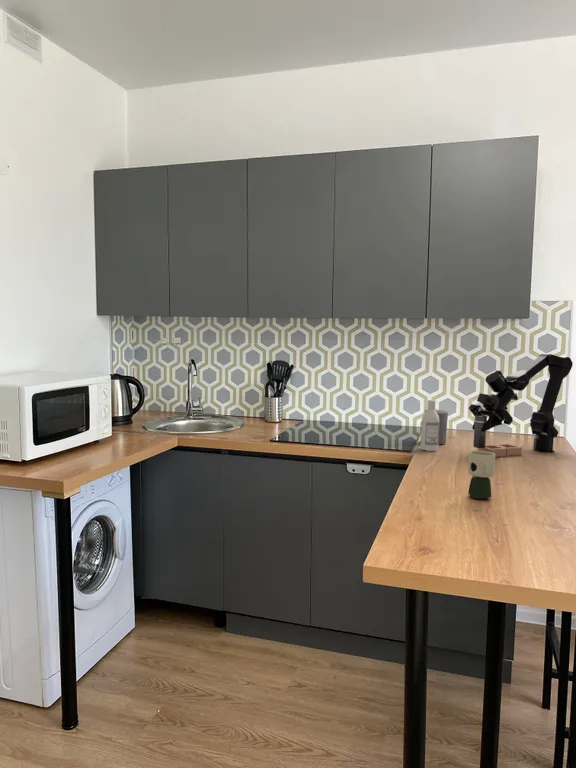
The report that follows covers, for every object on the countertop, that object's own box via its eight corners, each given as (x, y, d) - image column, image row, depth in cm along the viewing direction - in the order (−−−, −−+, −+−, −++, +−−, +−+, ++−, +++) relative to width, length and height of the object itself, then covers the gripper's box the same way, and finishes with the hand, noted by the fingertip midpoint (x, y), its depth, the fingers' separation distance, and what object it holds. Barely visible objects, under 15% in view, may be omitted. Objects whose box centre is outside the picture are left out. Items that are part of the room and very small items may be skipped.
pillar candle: (418, 442, 253) (420, 407, 252) (430, 439, 260) (432, 405, 259) (438, 446, 246) (440, 410, 245) (450, 443, 253) (452, 408, 252)
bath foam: (441, 451, 236) (444, 400, 234) (428, 452, 233) (431, 401, 231) (429, 447, 242) (432, 398, 240) (416, 449, 239) (418, 399, 237)
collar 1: (492, 452, 236) (492, 444, 236) (506, 456, 230) (506, 448, 229) (477, 453, 233) (478, 445, 233) (491, 457, 227) (491, 449, 226)
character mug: (461, 492, 175) (463, 448, 174) (485, 492, 175) (487, 449, 174) (473, 503, 164) (476, 456, 163) (498, 503, 164) (501, 457, 163)
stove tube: (479, 445, 231) (481, 415, 230) (487, 447, 227) (489, 416, 226) (470, 446, 230) (472, 415, 228) (478, 448, 226) (480, 417, 224)
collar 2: (507, 451, 240) (507, 443, 240) (521, 454, 233) (521, 447, 233) (493, 452, 237) (493, 444, 236) (507, 455, 230) (507, 448, 230)
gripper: (473, 383, 236) (450, 412, 233) (508, 388, 219) (484, 419, 216) (487, 403, 240) (464, 431, 237) (523, 409, 224) (499, 439, 220)
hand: (477, 430), depth 227 cm, fingers closed on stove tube, 4 cm apart
